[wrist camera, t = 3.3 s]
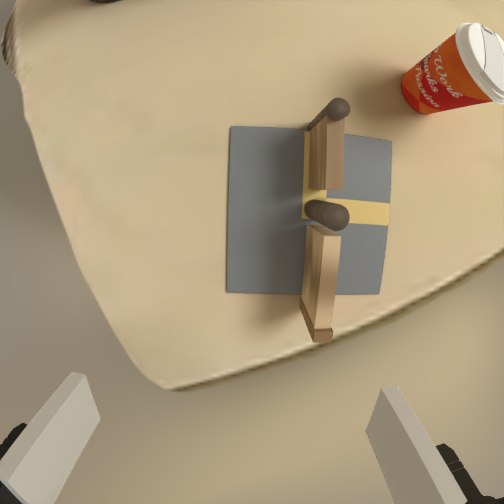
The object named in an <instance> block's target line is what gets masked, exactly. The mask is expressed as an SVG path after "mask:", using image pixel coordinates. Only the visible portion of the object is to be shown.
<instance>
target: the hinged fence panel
mask: <svg viewBox="0 0 504 504" xmlns="http://www.w3.org/2000/svg"><path fill="white" fill-rule="evenodd" d="M340 245H341V236H340V235H338V234H336V233H334V232H333V231H331V230H329V229H327V228H326V227H324V226H322V225H315V224H307V233H306V248H305V261H304V274H303V286H302V297H301V298H300V309H301V312H302V315H303V317H304V320H305V322H306V325H307V328H308V330H309V333H310V335H311V338H312V341H313V342H332V336H333V330H332V328H331V321H332V314H333V307H334V299H335V292H336V283H337V275H338V266H339V256H340Z"/></svg>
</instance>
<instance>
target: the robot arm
mask: <svg viewBox="0 0 504 504" xmlns="http://www.w3.org/2000/svg"><path fill="white" fill-rule="evenodd" d="M90 1H93V2H98V3H105V2H112V1H117V0H90ZM100 419H101V418H100V416H99V413H98V410H97V408H96V405H95V402H94V400H93V396H92V393H91V390H90V387H89V384H88V381H87V378H86V375H84V374H80V373H76V372H71V373H70V375H69V376H68V377H67V378H66V379H65V380H64V382H63V383H62V384H61V385H60V386H59V387H58V389H57V390H56V391H55V392H54V393H53V394H52V396H51V397H50V398H49V399H48V401H47V402H46V403H45V404H44V406H43V407H42V408H41V409H40V410H39V411H38V413H37V414H36V415H35V416H34V418H33V419H32V420H31V421H30V423H29V424H28V425H27V424H25V423H22V424H20V425H18V426H17V427H15V428H14V429H13V430H12V431H11V432H10V434H9V435H8V438H6V439H5V440H4V441H3V444H1V445H0V504H54V503H55V501H56V499H57V497H58V495H59V493H60V492H61V490H62V488H63V486H64V484H65V482H66V480H67V478H68V476H69V475H70V473H71V471H72V469H73V467H74V465H75V463H76V462H77V460H78V458H79V456H80V454H81V453H82V451H83V449H84V447H85V445H86V444H87V442H88V440H89V438H90V437H91V435H92V433H93V431H94V430H95V428H96V426H97V424H98V423H99V421H100ZM366 434H367V436H368V439H369V441H370V443H371V446H372V448H373V451H374V453H375V455H376V458H377V460H378V463H379V465H380V468H381V470H382V473H383V475H384V477H385V480H386V482H387V485H388V487H389V490H390V493H391V495H392V498H393V500H394V503H395V504H504V497H503V498H499V499H495V498H494V497H491V496H483V495H482V494H481V493H480V492H479V490H478V488H477V487H476V485H475V484H474V482H473V480H472V479H471V477H470V475H469V474H468V472H467V471H466V470H465V468H464V466H463V464H462V463H461V461H459V458H458V457H457V455H456V453H455V452H454V450H452V449H451V448H450V447H448V446H447V445H446V444H441V445H438V446H435V445H434V443H433V442H432V440H431V438H430V437H429V435H428V434H427V432H426V430H425V429H424V427H423V426H422V424H421V422H420V421H419V419H418V418H417V416H416V415H415V413H414V412H413V410H412V408H411V407H410V406H409V404H408V402H407V401H406V399H405V398H404V396H403V395H402V394H401V392H400V390H399V389H398V387H397V386H391V387H384V388H381V390H380V393H379V396H378V399H377V402H376V405H375V407H374V410H373V413H372V416H371V418H370V421H369V424H368V426H367V429H366Z"/></svg>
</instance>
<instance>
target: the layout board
mask: <svg viewBox="0 0 504 504" xmlns="http://www.w3.org/2000/svg"><path fill="white" fill-rule="evenodd" d="M309 150H310V131H309V130H302V129H289V128H273V127H247V126H231V140H230V167H229V202H228V252H227V292H228V293H259V294H302V286H303V274H304V261H305V248H306V233H307V224H315V225H322V224H320V223H318V222H316V221H314V220H312V219H311V218H309V217H307V215H306V214H305V211H304V207H305V204H306V203H307V202H308V201H309V200H312V199H317V200H322V201H327V202H331V203H336V204H341V205H343V206H344V207H346V208H347V210H348V212H349V215H350V220H349V223H348V225H347V226H346V227H345V228H344V229H343V230H341V231H333V230H331V229H329V228H327V227H326V228H327V229H329V230H331V231H333V232H334V233H336V234H338V235H340V236H341V245H340V256H339V266H338V275H337V283H336V292H335V295H349V294H379V292H380V286H381V279H382V273H383V265H384V258H385V250H386V241H387V231H388V224H389V212H390V191H391V163H392V141H386V140H381V139H375V138H369V137H362V136H355V135H348V134H344V171H343V191H338V190H319V189H308V182H309ZM322 226H323V225H322ZM324 227H325V226H324Z"/></svg>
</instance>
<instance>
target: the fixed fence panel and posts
mask: <svg viewBox="0 0 504 504" xmlns="http://www.w3.org/2000/svg"><path fill="white" fill-rule="evenodd" d="M349 112H350V106H349V104H348V102H347V101H346V100H344V99H342V98H335V99H333V100H332V101H331V102H330V103H329V104H328V105H327V106H326V107H325V108H324V109H323V110H322V111H321V112H320V113H319V114H318V115H317V116H316V118H315V119H314V120H313V121H312V122H311V123H310V124H309V126H308V130H309V131H310V150H309V182H308V189H319V190H338V191H343V171H344V118H345V117H346V116H347V115H348V114H349ZM304 211H305V214H306V215H307V217H309V218H311V219H312V220H314V221H316V222H318V223H320V224H322V225H323V226H325V227H327V228H329V229H331V230H333V231H341V230H343V229H344V228H345V227H346V226H347V225H348V223H349V220H350V215H349V212H348V210H347V208H346V207H344V206H343V205H341V204H336V203H331V202H327V201H322V200H317V199H312V200H309V201H308V202H307V203H306V204H305V207H304Z"/></svg>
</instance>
